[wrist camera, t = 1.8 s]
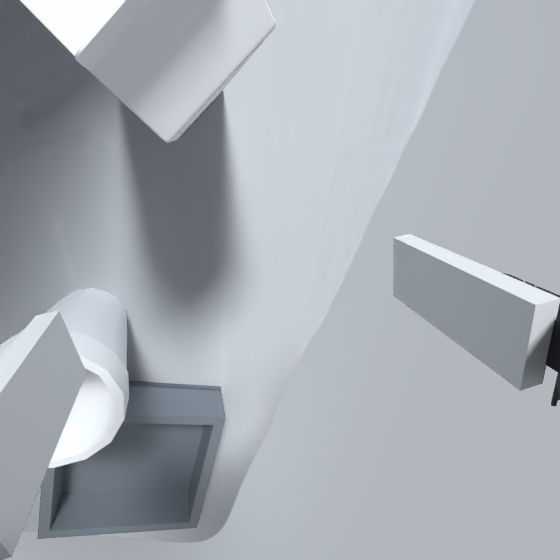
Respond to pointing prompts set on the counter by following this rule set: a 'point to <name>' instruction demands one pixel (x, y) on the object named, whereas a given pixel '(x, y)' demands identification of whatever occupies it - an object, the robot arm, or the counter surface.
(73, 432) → the foam cup
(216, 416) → the bin
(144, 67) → the pale carton
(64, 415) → the robot arm
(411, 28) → the counter surface
